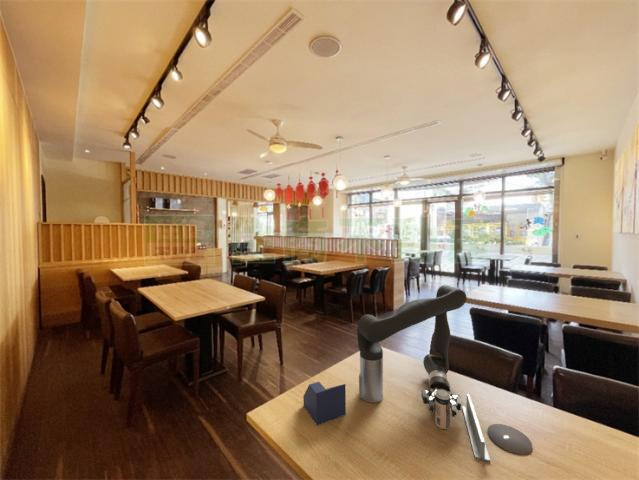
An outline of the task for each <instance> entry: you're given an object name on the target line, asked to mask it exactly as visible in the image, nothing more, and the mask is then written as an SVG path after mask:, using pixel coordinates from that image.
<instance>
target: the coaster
mask: <svg viewBox="0 0 639 480" xmlns="http://www.w3.org/2000/svg"><path fill="white" fill-rule="evenodd" d="M486 431H487V436H488V438H489V440H491V442H492V443H493V444H495V446H497V447H499V448H500V449H502V450H504V451H505V452H508V453H511V454H514V455H527V454H530V453H531V451H532V450H533V444H532V441H531V440H530V439H529V437H528V436H527V435H526V434H524V433H523V432H522V431H520V430H518V428H515V427H512V426H510V425H507V424H502V423H493V424H490V425H489V426H488V428H487V430H486Z"/></svg>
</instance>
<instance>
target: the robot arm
mask: <svg viewBox="0 0 639 480" xmlns="http://www.w3.org/2000/svg"><path fill="white" fill-rule="evenodd" d="M435 294H436V295H435V297H428V298H418V299H415V300H411V301H409V302H406V303H404V304H402V305H401V306H400V307H399V308H398V309H397V311H396V312H395V313H394V314H392V315H391V316H388V317H384V318H381V319H379V318H377V317H375V316H374V315H373V314H363V315H362V316H361V317H360V318H359V319H358V321H357V322H358V323H357V325H356V333H357V336H356V337H357V348H358V349H359V374H358V397H359V398H358V399H362V400H363V401H365V402H367V403H371V404H374V403H375V404H376V403H379V402H381V401H382V400H383V398H384V351H383V348H382V346H381V344H380V342H383V341H384V340H386V339H388V338H391V336H393V335H395V334H397V333H399V332H401V331H403V330H406V329H408V328H410V327H413V326H415V325H417V324H420V323H423V322H425V321H426V320H429V319H432V318H434V317H435V318H434V321H435V322H434V328H433V334H432V340H431V344H430V345H431V349H432V350H433V351H435V352H436V353H439V354H440V355H441V356H438V355H434V354H431V353H428V354H425V356H424V358H423V360H422V362H423V367H424V369H425V371H426V372H427V375H428V386H429V387H428V390H426V389H425V388H424V387H421V389H420V395H421V399H422V403H423V405H428V409H429V411H431V413H432V414H435V393H436V391H437V390H438V389H443V390H446V391H447V392H448V393H449V395H450V413H451V415H452V417H453V418H455V417H456V416H458V415H457V411H462V410H461V409H462V396H461V394H459V393H457V395H455V394H453V393H452V392H451V387H450V382H449V379H448V376H447V374H448V373H449V370H450V366H449V365H450V364H449V357H448V356H449V355H448V353H449V345H450V343H451V342H450V341H451V329H450V325H449V321H448V312H451V311H455V310H458V309H460V308H462V307H464V305H465V304H466V301H467V294H466V292H464V291H463V290H462V289H460V288H458V287H454V286H452V285H451V286H450V285H447V284H444V285H443V284H442V285H440V286H439V287H438V289H437V291H436V293H435ZM428 396H429V397H428Z"/></svg>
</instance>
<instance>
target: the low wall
mask: <svg viewBox="0 0 639 480" xmlns="http://www.w3.org/2000/svg"><path fill="white" fill-rule="evenodd" d="M465 405H466V406H464V405H461V409H462V410H461V411H462V413H463V418H464V422H465V425H466V429H467V433H468V437H469V441H470V444H471V448H472V453H473V456H474V460H477V461H481V462H485V463H489V464H491V458H490V454H489V452H488V449H487V446H486V442H485V438H484V435H483V431H482V429H481V428H482V427H481V425H480V422H479V419H478V416H477V413H476V409H475V406H474V403H473V400H472V397H471V395H470V393H466V404H465Z"/></svg>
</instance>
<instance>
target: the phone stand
mask: <svg viewBox="0 0 639 480" xmlns="http://www.w3.org/2000/svg"><path fill="white" fill-rule="evenodd" d="M346 394H347V393H346V384H345V383H343V384H338V385H335V386H331V387H327V388H325V386H323V384H321V382H320V381H316V382H313V383H310V384H308V386H307V389H306V390H305V392H304V394H303V401H302V402H303V407H304V408H306V409H305V410H306V411H308V412H307V413H308V415H309V414H310V415H309V416H310V418H311V417H312V418H311V419H312V420H314V421H313V422H314V423H316V424H315V425H316V426H319V425H320V426H321V425H322V424H325V423H327V422H331V421H333V420H335V419H338V418H341V417H343V416H345V415H347V413H346V412H347V411H346V408H347V407H346V401H347V399H346V398H347V397H346V396H347V395H346Z"/></svg>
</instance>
